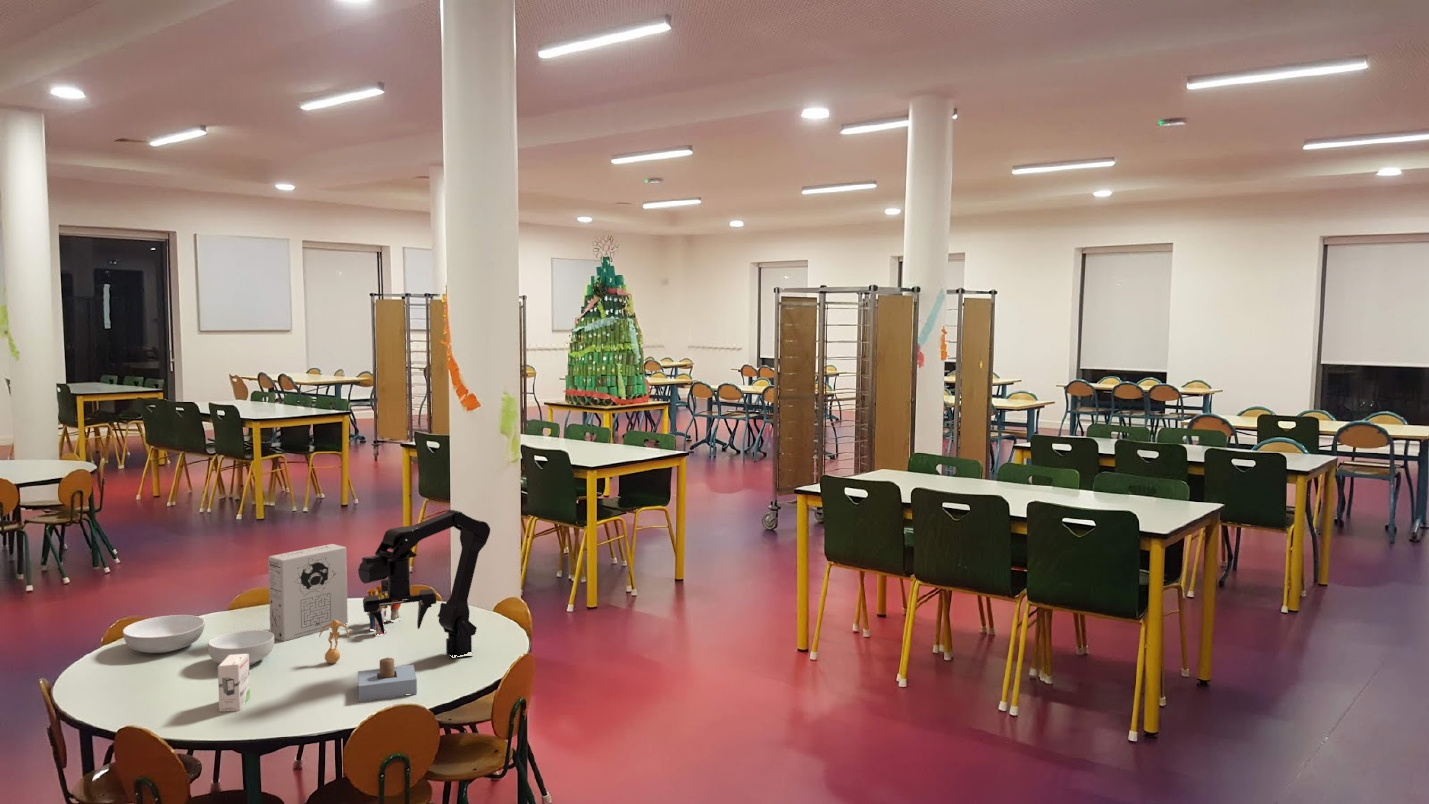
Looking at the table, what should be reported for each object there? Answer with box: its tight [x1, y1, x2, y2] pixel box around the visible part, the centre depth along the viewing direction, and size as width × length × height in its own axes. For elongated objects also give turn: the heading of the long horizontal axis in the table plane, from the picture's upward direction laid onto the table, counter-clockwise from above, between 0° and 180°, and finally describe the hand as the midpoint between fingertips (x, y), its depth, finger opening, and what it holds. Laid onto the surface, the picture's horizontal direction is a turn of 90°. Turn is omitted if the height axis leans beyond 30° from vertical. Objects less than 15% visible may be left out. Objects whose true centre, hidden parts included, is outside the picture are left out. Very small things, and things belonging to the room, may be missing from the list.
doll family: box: [366, 583, 402, 635], centre depth 299 cm, size 21×10×13 cm, turn 179°
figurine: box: [318, 619, 350, 664], centre depth 269 cm, size 8×6×12 cm
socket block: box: [357, 664, 418, 702], centre depth 249 cm, size 14×11×4 cm
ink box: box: [217, 654, 251, 712], centre depth 238 cm, size 9×5×12 cm, turn 10°
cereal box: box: [267, 543, 349, 642], centre depth 295 cm, size 22×8×25 cm, turn 144°
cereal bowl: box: [207, 629, 275, 667], centre depth 267 cm, size 17×17×7 cm
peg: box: [379, 657, 395, 679], centre depth 248 cm, size 4×4×8 cm
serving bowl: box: [122, 614, 206, 654], centre depth 279 cm, size 21×21×7 cm
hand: (401, 630), depth 261 cm, fingers open, 9 cm apart
